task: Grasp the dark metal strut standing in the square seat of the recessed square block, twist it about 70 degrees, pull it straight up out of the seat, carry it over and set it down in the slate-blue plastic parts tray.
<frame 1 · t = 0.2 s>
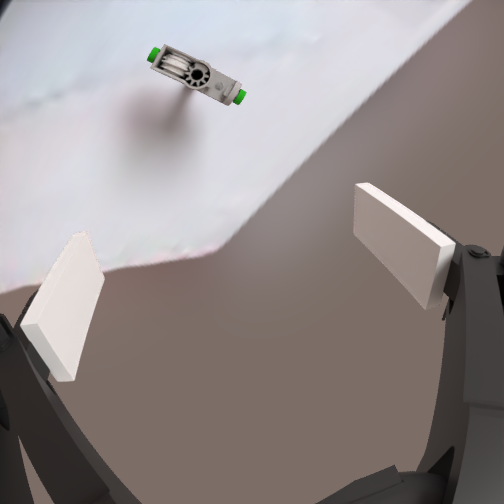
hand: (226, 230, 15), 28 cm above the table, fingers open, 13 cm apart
mechanical component: (195, 78, 35), on the table
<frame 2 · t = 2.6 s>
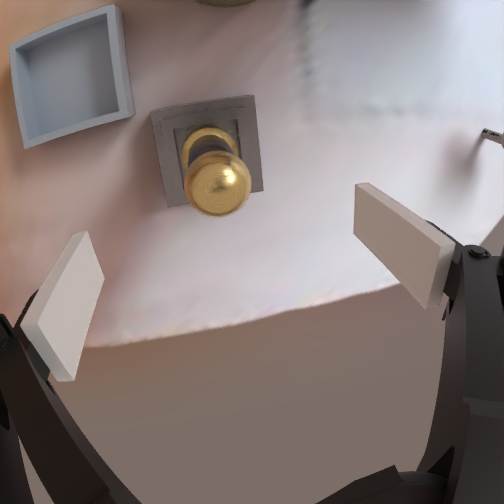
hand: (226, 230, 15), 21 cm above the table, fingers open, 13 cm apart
recessed square block: (207, 146, 32), on the table
mechanical component: (484, 132, 37), on the table
strut: (208, 151, 30), point 3 cm above the table, touching recessed square block
tray: (74, 76, 26), on the table
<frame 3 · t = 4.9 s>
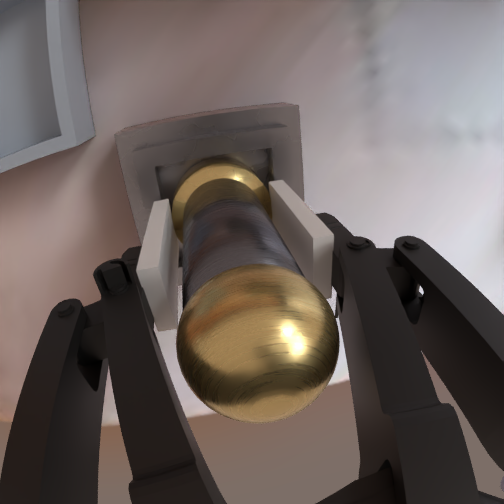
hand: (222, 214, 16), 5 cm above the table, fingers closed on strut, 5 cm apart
recessed square block: (215, 187, 20), on the table
strut: (219, 202, 18), point 3 cm above the table, touching gripper, recessed square block
tray: (6, 79, 14), on the table
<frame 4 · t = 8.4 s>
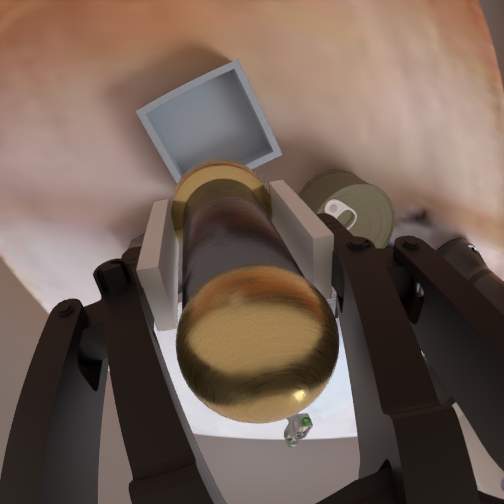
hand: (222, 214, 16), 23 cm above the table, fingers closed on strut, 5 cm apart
recessed square block: (181, 253, 42), on the table
mechanical component: (287, 398, 64), on the table
strut: (219, 202, 18), point 21 cm above the table, touching gripper
tray: (209, 127, 35), on the table
can: (332, 209, 44), on the table
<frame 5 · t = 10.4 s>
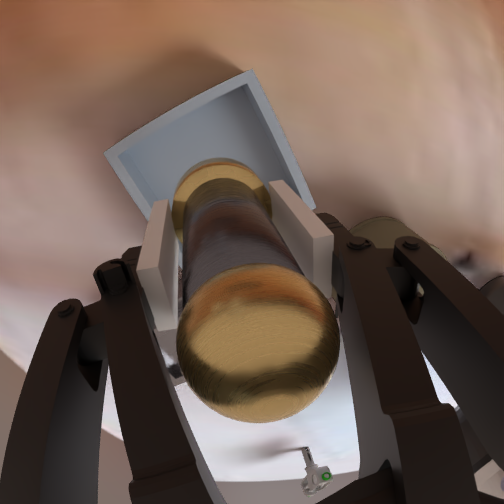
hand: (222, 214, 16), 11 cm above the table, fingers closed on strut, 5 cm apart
recessed square block: (182, 324, 33), on the table
mechanical component: (304, 447, 54), on the table
strut: (219, 202, 18), point 9 cm above the table, touching gripper
tray: (211, 167, 26), on the table
can: (371, 263, 34), on the table
when the fingers open (4 cm above the table, at t = 12.2 s): strut drops 2 cm, resting on tray.
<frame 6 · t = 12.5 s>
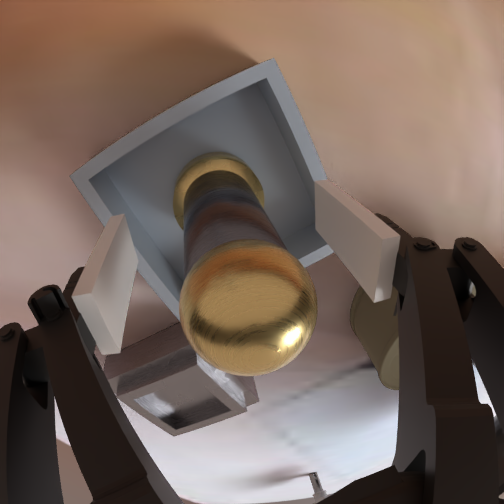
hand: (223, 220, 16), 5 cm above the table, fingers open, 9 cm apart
recessed square block: (181, 369, 27), on the table
mechanical component: (312, 472, 49), on the table
strut: (216, 192, 19), point 1 cm above the table, touching tray
tray: (215, 189, 20), on the table
can: (400, 295, 29), on the table
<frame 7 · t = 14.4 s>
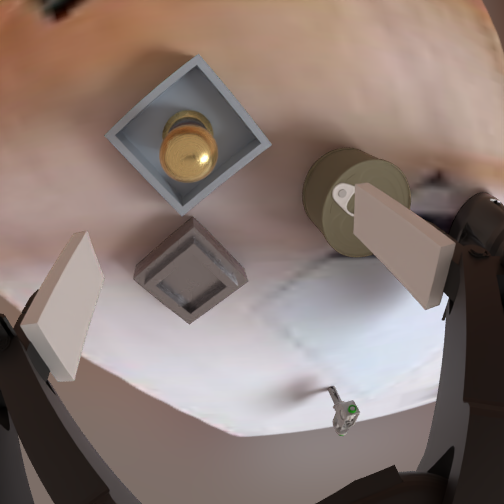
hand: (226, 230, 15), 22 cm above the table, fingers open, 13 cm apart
recessed square block: (190, 267, 41), on the table
mechanical component: (331, 387, 62), on the table
strut: (187, 133, 32), point 1 cm above the table, touching tray
tray: (187, 132, 32), on the table
can: (343, 190, 40), on the table
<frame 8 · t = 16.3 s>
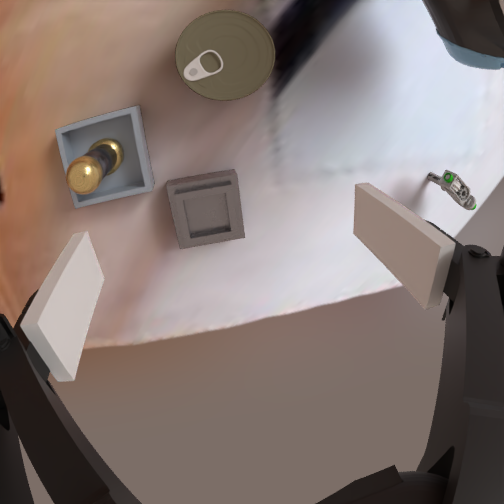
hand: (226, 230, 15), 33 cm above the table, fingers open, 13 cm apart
recessed square block: (205, 205, 48), on the table
mechanical component: (429, 175, 53), on the table
strut: (107, 155, 41), point 1 cm above the table, touching tray
tray: (108, 154, 41), on the table
can: (220, 59, 38), on the table
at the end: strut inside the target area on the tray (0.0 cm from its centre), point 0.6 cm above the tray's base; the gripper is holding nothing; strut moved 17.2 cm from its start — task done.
